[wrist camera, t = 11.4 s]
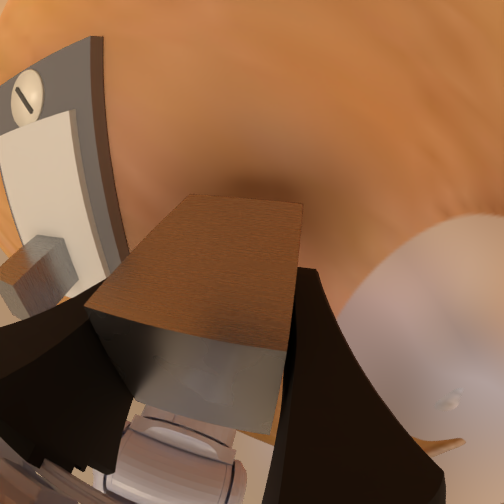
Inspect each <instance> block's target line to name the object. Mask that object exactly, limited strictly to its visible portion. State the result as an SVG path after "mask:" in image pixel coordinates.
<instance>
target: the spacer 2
mask: <svg viewBox="0 0 504 504" xmlns="http://www.w3.org/2000/svg"><path fill="white" fill-rule="evenodd" d="M302 212H303V204H299V203H290V202H281V201H271V200H260V199H249V198H237V197H224V196H210V195H194V194H190V195H189V196H188V197H186V198H185V199H184V200H183V201H182V202H181V203H180V204H179V205H178V206H177V207H176V208H175V209H174V210H173V211H172V212H171V213H170V214H169V215H167V216H166V217H165V218H164V219H163V220H162V221H161V222H160V223H159V224H158V225H157V226H156V227H155V228H154V229H153V230H152V231H151V232H150V233H149V234H148V235H147V236H146V237H145V238H144V239H143V240H142V241H141V242H140V243H139V245H138V246H137V247H136V248H135V249H134V250H133V251H132V252H131V253H130V254H129V255H128V256H127V257H126V258H125V259H124V260H123V261H122V262H121V264H120V265H119V266H118V267H117V268H116V269H115V270H114V271H113V272H112V273H111V274H110V276H109V277H108V278H107V279H106V280H105V281H104V282H103V283H102V285H101V286H100V287H99V288H98V289H97V290H96V291H95V293H94V294H93V295H92V296H91V297H90V298H89V300H88V301H87V302H86V303H85V304H84V308H85V311H86V313H87V315H88V317H89V319H90V321H91V323H92V325H93V327H94V329H95V331H96V333H97V335H98V337H99V339H100V341H101V343H102V345H103V347H104V348H105V350H106V352H107V354H108V356H109V357H110V359H111V361H112V363H113V364H114V366H115V368H116V370H117V371H118V373H119V375H120V376H121V378H122V379H123V381H124V383H125V384H126V386H127V387H128V389H129V390H130V392H131V394H132V395H133V397H134V398H135V400H136V401H138V402H141V403H144V404H146V405H149V406H152V407H155V408H158V409H161V410H164V411H167V412H170V413H173V414H177V415H180V416H184V417H187V418H191V419H194V420H198V421H202V422H206V423H210V424H214V425H219V426H223V427H228V428H233V429H238V430H243V431H248V432H254V433H260V434H267V435H270V431H271V427H272V422H273V418H274V413H275V408H276V404H277V399H278V394H279V389H280V384H281V379H282V374H283V369H284V364H285V359H286V353H287V347H288V340H289V332H290V325H291V317H292V309H293V301H294V293H295V284H296V275H297V266H298V256H299V246H300V235H301V224H302Z"/></svg>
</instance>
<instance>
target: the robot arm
mask: <svg viewBox="0 0 504 504" xmlns="http://www.w3.org/2000/svg"><path fill="white" fill-rule="evenodd" d="M107 278H108V277H107ZM107 278H106V279H107ZM106 279H104V280H102V281H101V282H99V283H97V284H95V285H94V286H92V287H90V288H89V289H87V290H85V291H84V292H82V293H80V294H78V295H77V296H75V297H73V298H71V299H69V300H67V301H65V302H63V303H61V304H59V305H57V306H55V307H53V308H51V309H49V310H46V311H44V312H41V313H39V314H36V315H34V316H32V317H29V318H27V319H24V320H22V321H19V322H16V323H13V324H10V325H6V326H3V327H0V504H78V502H80V503H81V504H242V502H243V499H244V495H245V490H246V483H247V473H246V470H245V469H244V467H243V465H242V463H241V461H239V460H235V459H234V458H235V454H236V450H235V449H232V445H233V441H234V438H235V434H236V430H237V429H233V428H228V427H223V426H219V425H214V424H210V423H206V422H202V421H198V420H194V419H191V418H187V417H184V416H180V415H177V414H173V413H170V412H167V411H164V410H161V409H158V408H155V407H152V406H149V405H145V408H144V410H143V412H142V414H141V416H139V415H137V414H135V416H134V418H133V420H132V422H129V421H127V420H126V419H127V416H128V413H129V409H130V406H131V403H132V400H133V398H134V397H133V395H132V394H131V392H130V390H129V389H128V387H127V386H126V384H125V383H124V381H123V379H122V378H121V376H120V375H119V373H118V371H117V370H116V368H115V366H114V364H113V363H112V361H111V359H110V357H109V356H108V354H107V352H106V350H105V348H104V347H103V345H102V343H101V341H100V339H99V337H98V335H97V333H96V331H95V329H94V327H93V325H92V323H91V321H90V319H89V317H88V315H87V313H86V311H85V308H84V304H85V303H86V302H87V301H88V300H89V298H90V297H91V296H92V295H93V294H94V293H95V291H96V290H97V289H98V288H99V287H100V286H101V285H102V283H103V282H104V281H105V280H106ZM87 465H88V466H90V467H91V468H93V475H94V482H93V487H92V486H90V485H88V484H87V483H85V482H83V481H81V480H80V479H78V478H77V477H75V476H74V475H72V474H71V473H72V470H73V468H74V467H75V468H77V469H79V470H80V471H82V472H84V471H85V469H86V467H87ZM35 471H36V472H38V473H39V474H40V475H41V476H42V477H41V476H39V475H37V474H36V472H35ZM43 477H44V478H43ZM445 499H446V484H445V478H444V471H443V470H442V469H441V468H440V467H439V466H438V465H437V464H436V463H435V462H434V461H433V460H432V459H431V458H430V457H429V456H428V455H427V454H426V453H425V452H424V451H423V450H422V448H421V447H420V446H419V445H418V444H417V443H416V442H415V441H414V440H413V438H412V437H411V436H410V435H409V434H408V432H407V431H406V430H405V429H404V428H403V426H402V425H401V424H400V423H399V421H398V420H397V419H396V417H395V416H394V415H393V413H392V412H391V411H390V409H389V408H388V407H387V405H386V404H385V403H384V401H383V400H382V399H381V397H380V396H379V395H378V393H377V392H376V390H375V389H374V387H373V386H372V384H371V382H370V381H369V379H368V378H367V376H366V375H365V373H364V371H363V370H362V368H361V366H360V365H359V363H358V362H357V360H356V358H355V356H354V355H353V353H352V351H351V349H350V347H349V345H348V343H347V342H346V339H345V337H344V336H343V334H342V332H341V330H340V327H339V325H338V324H337V321H336V319H335V316H334V314H333V312H332V310H331V308H330V305H329V303H328V300H327V298H326V295H325V292H324V290H323V287H322V284H321V281H320V277H319V273H318V272H317V270H316V269H311V268H302V267H297V275H296V284H295V293H294V301H293V309H292V317H291V325H290V332H289V340H288V347H287V353H286V359H285V364H284V375H283V391H282V404H281V413H280V419H279V424H278V430H277V435H276V440H275V446H274V451H273V456H272V461H271V466H270V470H269V474H268V479H267V483H266V488H265V492H264V496H263V500H262V504H446V501H445ZM502 504H504V503H502Z"/></svg>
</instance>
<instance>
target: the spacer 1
mask: <svg viewBox="0 0 504 504" xmlns="http://www.w3.org/2000/svg"><path fill="white" fill-rule="evenodd" d="M78 280H79V278H78V275H77V273H76V270H75V268H74V265H73V263H72V260H71V257H70V255H69V252H68V249H67V246H66V243H65V240H64V238H59V237H51V236H44V235H36V236H35V237H33V238H32V239H31V240H30V241H29V242H27V243H26V244H25V245H24V246H23V247H21V248H20V249H19V250H18V251H17V252H16V253H15V254H13V255H12V256H11V257H10V258H9V259H8V260H7V261H6V262H5V263H3V264H2V265H1V266H0V294H1V296H2V298H3V299H4V301H5V303H6V304H7V306H8V308H9V310H10V311H11V313H12V314H13V315H14V316H16V317H17V318H20V319H21V320H24V319H27V318H29V317H32V316H34V315H36V314H39V313H41V312H44V311H46V310H49V309H51V308H53V307H55V306H56V305H57V304H58V303H59V301H60V300H61V299H62V298H63V297H64V296H65V295H66V293H67V292H68V291H69V290H70V289H71V288H72V287H73V286H74V285H75V283H76V282H77V281H78Z"/></svg>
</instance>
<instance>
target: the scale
mask: <svg viewBox="0 0 504 504" xmlns="http://www.w3.org/2000/svg"><path fill="white" fill-rule="evenodd" d="M0 172H1V176H2V180H3V184H4V188H5V192H6V196H7V200H8V203H9V206H10V210H11V213H12V216H13V219H14V222H15V225H16V228H17V231H18V234H19V237H20V239H21V242H22V245H23V246H24V245H25V244H26V243H27V242H29V241H30V240H31V239H32V238H33V237H35V236H36V235H44V236H51V237H59V238H64V240H65V243H66V246H67V249H68V252H69V255H70V257H71V260H72V263H73V265H74V268H75V270H76V273H77V275H78V278H79V280H78V281H77V282H76V283H75V285H74V286H73V287H72V288H71V289H70V290H69V291H68V292H67V293H66V295H65V296H67V297H70V298H73V297H75V296H77V295H78V294H80V293H82V292H84V291H85V290H87V289H89V288H90V287H92V286H94V285H95V284H97V283H99V282H101V281H102V280H104V279H106V278H107V277H109V276H110V274H111V273H112V272H113V271H114V270H115V269H116V268H117V267H118V266H119V265H120V264H121V262H122V261H123V260H124V259H125V258H126V257H127V256H128V255H129V250H128V246H127V242H126V237H125V233H124V229H123V224H122V220H121V215H120V210H119V206H118V200H117V195H116V190H115V184H114V178H113V172H112V166H111V159H110V152H109V144H108V135H107V126H106V115H105V103H104V85H103V37H99V36H89V37H87V38H85V39H82V40H80V41H78V42H76V43H73V44H71V45H69V46H67V47H65V48H63V49H61V50H59V51H57V52H55V53H53V54H51V55H49V56H47V57H46V58H44V59H42V60H40V61H38V62H37V63H35V64H33V65H32V66H30V67H28V68H27V69H25V70H23V71H22V72H20V73H19V74H17V75H16V76H14V77H13V78H11V79H10V80H8V81H7V82H5V83H4V84H2V85H1V86H0Z"/></svg>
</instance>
